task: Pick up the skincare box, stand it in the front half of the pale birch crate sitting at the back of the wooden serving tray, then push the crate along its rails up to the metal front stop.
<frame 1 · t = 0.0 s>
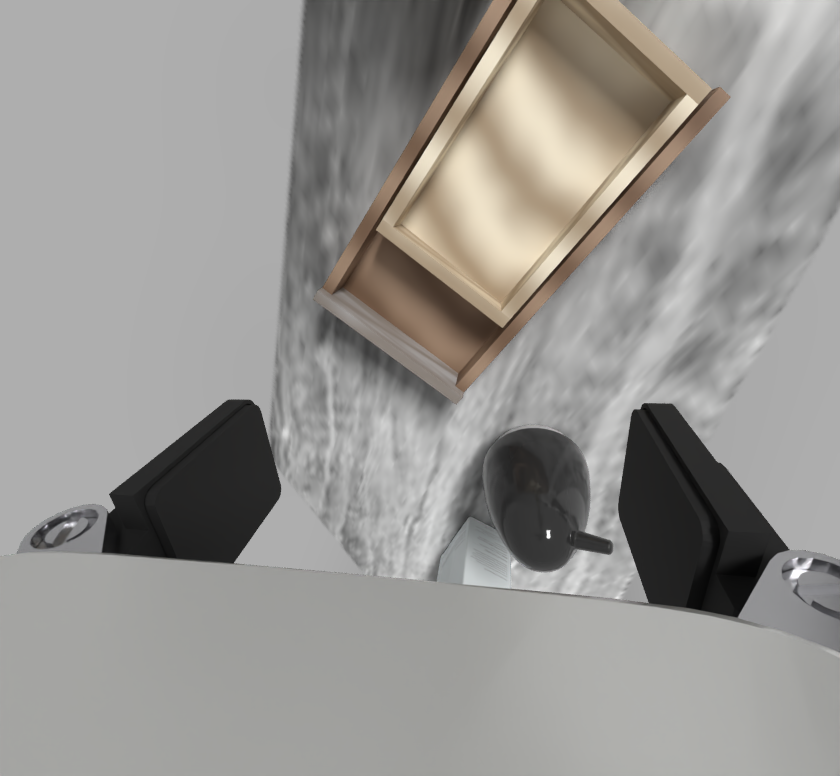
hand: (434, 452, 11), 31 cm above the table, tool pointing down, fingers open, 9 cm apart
wooden serving tray: (491, 210, 37), on the table
birch crate: (522, 168, 32), point 3 cm above the table, slide at 0.0 cm
black penguin figurine: (532, 450, 46), on the table
skincare box 2: (474, 542, 54), on the table
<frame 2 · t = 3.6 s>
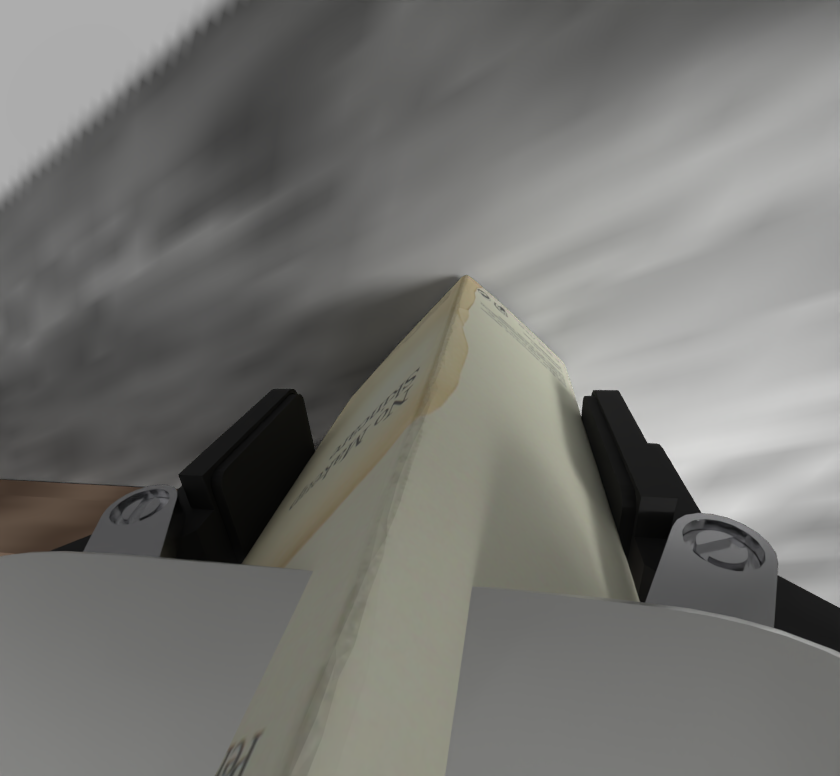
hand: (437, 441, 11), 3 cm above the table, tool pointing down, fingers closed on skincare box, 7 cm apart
wooden serving tray: (180, 608, 23), on the table
skincare box: (451, 383, 14), on the table, touching gripper
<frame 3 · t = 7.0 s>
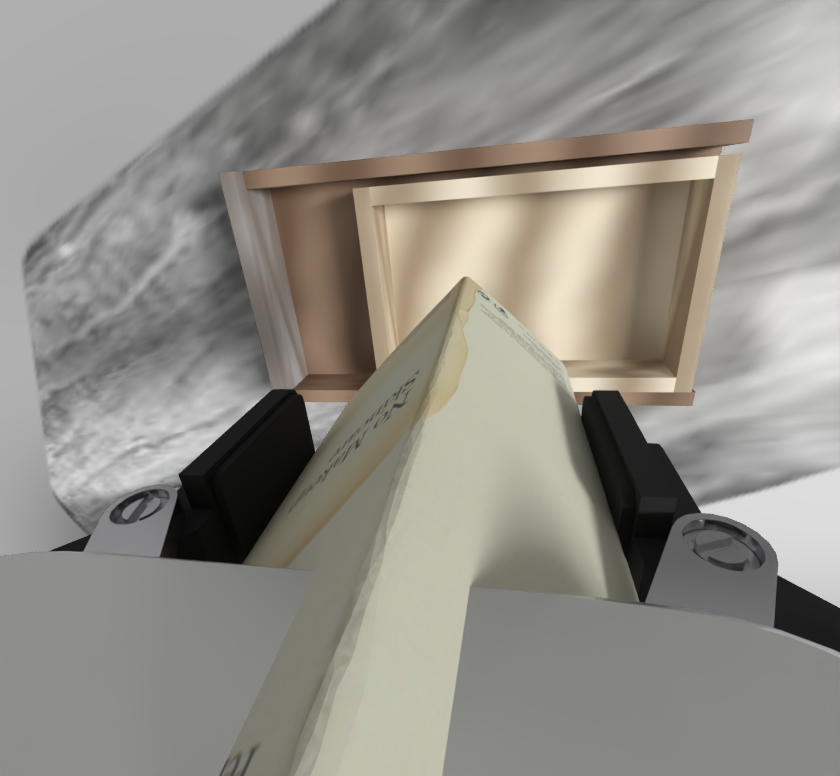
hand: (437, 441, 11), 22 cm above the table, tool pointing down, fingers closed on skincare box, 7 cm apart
wooden serving tray: (469, 279, 31), on the table
birch crate: (525, 286, 27), point 3 cm above the table, slide at 0.0 cm
skincare box: (451, 385, 14), point 18 cm above the table, touching gripper
when the fingers open (6 cm above the table, at t = 10.5 s): skincare box stays where it is, resting on birch crate.
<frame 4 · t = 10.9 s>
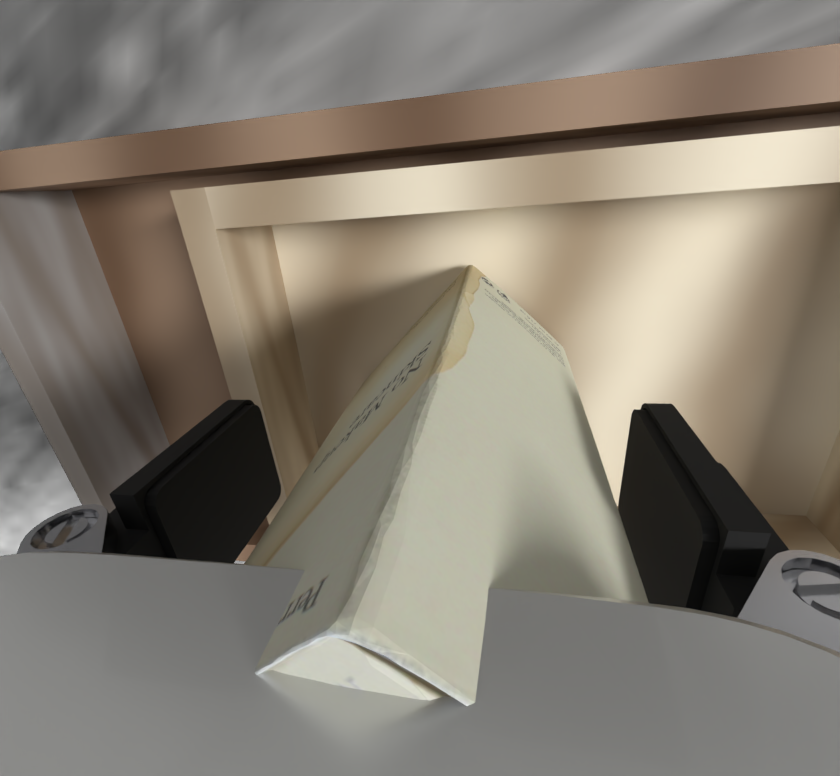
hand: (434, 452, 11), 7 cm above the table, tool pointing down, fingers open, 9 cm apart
wooden serving tray: (447, 353, 17), on the table
birch crate: (552, 386, 14), point 3 cm above the table, slide at 0.1 cm, touching skincare box
skincare box: (457, 368, 15), point 2 cm above the table, touching birch crate
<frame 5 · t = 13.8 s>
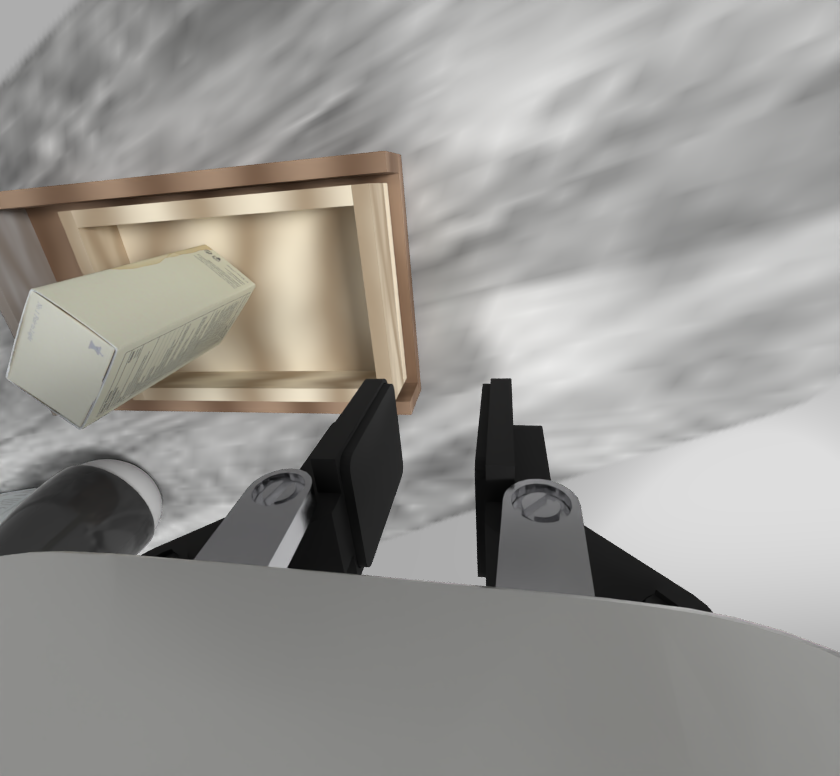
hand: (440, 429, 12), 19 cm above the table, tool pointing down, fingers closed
wooden serving tray: (224, 293, 32), on the table
birch crate: (247, 302, 29), point 3 cm above the table, slide at 0.1 cm, touching skincare box
black penguin figurine: (136, 484, 44), on the table
skincare box 2: (35, 507, 48), on the table
skincare box: (216, 297, 31), point 2 cm above the table, touching birch crate
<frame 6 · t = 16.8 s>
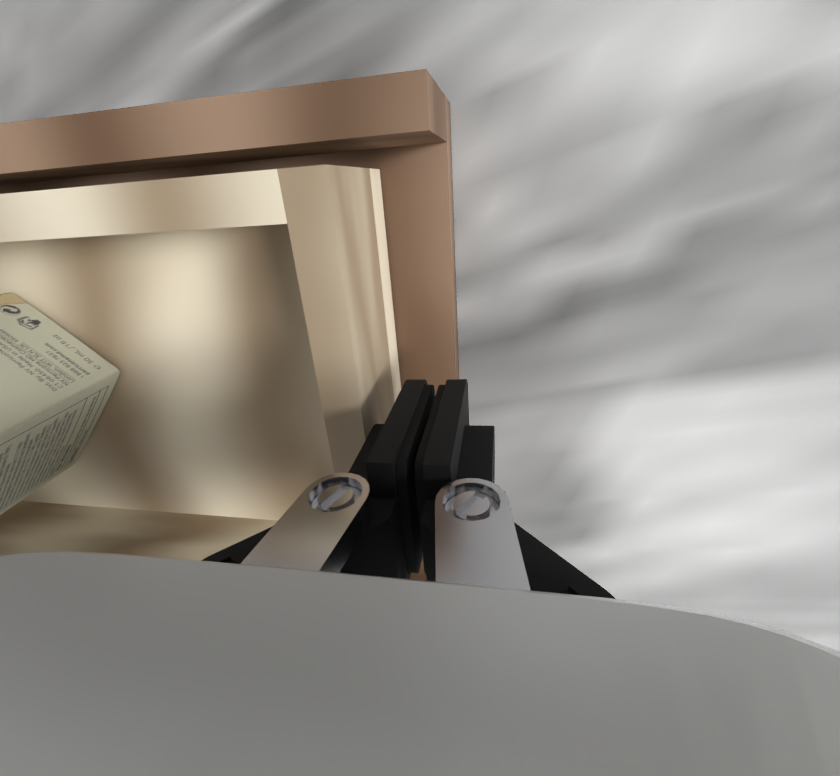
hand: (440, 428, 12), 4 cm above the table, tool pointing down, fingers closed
wooden serving tray: (110, 370, 18), on the table
birch crate: (101, 406, 15), point 3 cm above the table, slide at 1.2 cm, touching skincare box, gripper
skincare box: (56, 387, 16), point 2 cm above the table, touching birch crate
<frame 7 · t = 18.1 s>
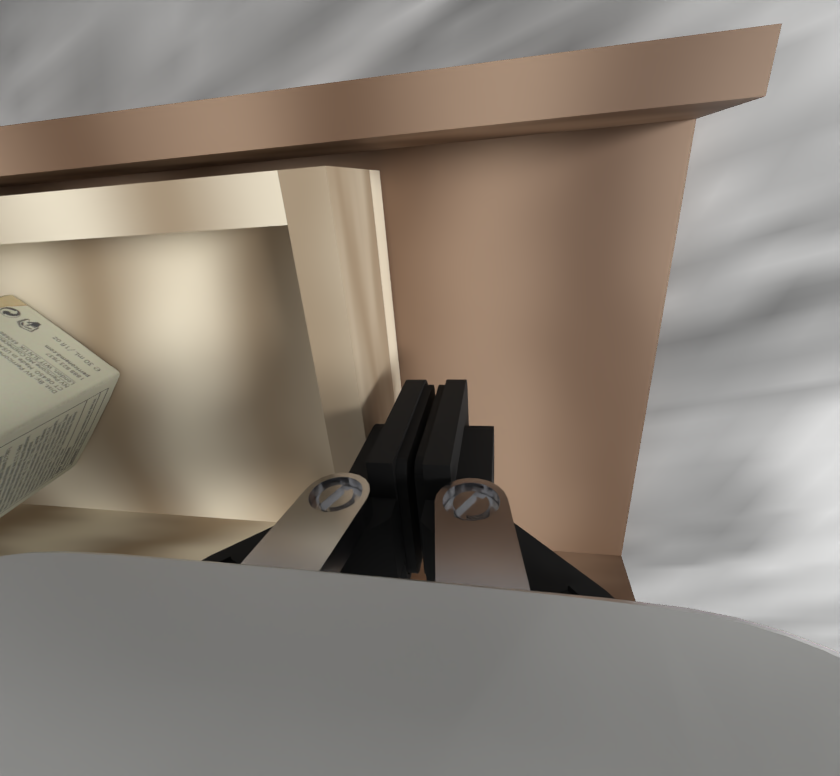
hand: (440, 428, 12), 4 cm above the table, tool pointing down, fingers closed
wooden serving tray: (239, 372, 17), on the table
birch crate: (101, 408, 15), point 3 cm above the table, slide at 7.1 cm, touching skincare box, gripper
skincare box: (55, 389, 16), point 2 cm above the table, touching birch crate
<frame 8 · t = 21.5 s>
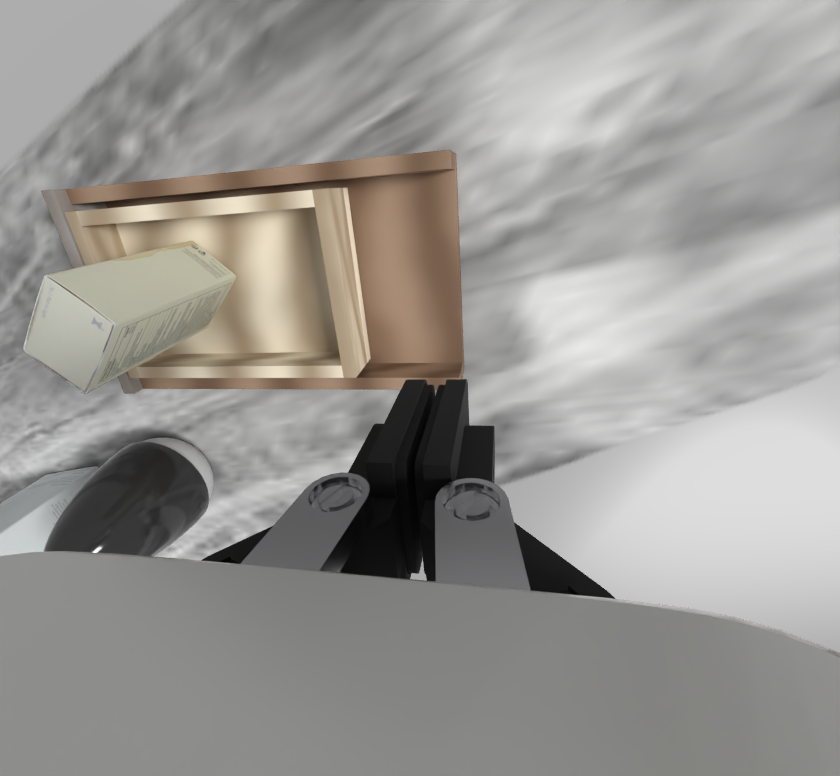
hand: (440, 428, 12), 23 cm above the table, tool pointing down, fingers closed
wooden serving tray: (285, 280, 35), on the table
birch crate: (229, 291, 33), point 3 cm above the table, slide at 7.0 cm, touching skincare box
black penguin figurine: (187, 462, 47), on the table
skincare box 2: (88, 485, 51), on the table
skincare box: (202, 287, 35), point 2 cm above the table, touching birch crate
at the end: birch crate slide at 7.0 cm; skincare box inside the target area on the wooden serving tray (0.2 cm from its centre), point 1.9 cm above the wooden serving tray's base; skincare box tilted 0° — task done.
